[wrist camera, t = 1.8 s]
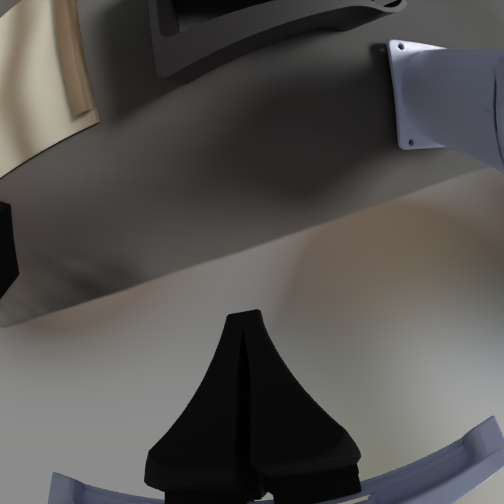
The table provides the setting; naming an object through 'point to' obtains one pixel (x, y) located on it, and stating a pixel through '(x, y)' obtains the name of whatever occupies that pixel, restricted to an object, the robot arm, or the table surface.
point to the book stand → (41, 79)
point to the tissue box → (6, 250)
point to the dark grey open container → (247, 31)
